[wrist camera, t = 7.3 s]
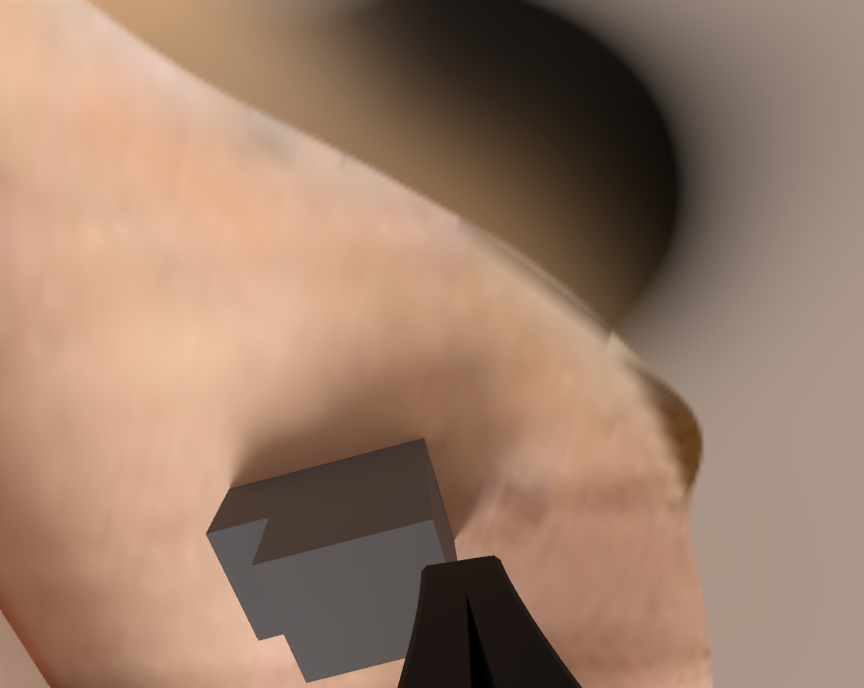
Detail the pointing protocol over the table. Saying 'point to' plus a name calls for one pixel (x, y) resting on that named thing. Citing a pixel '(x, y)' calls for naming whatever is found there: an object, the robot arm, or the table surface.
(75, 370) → the table surface
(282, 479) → the dark grey block
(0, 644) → the door
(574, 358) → the table surface
